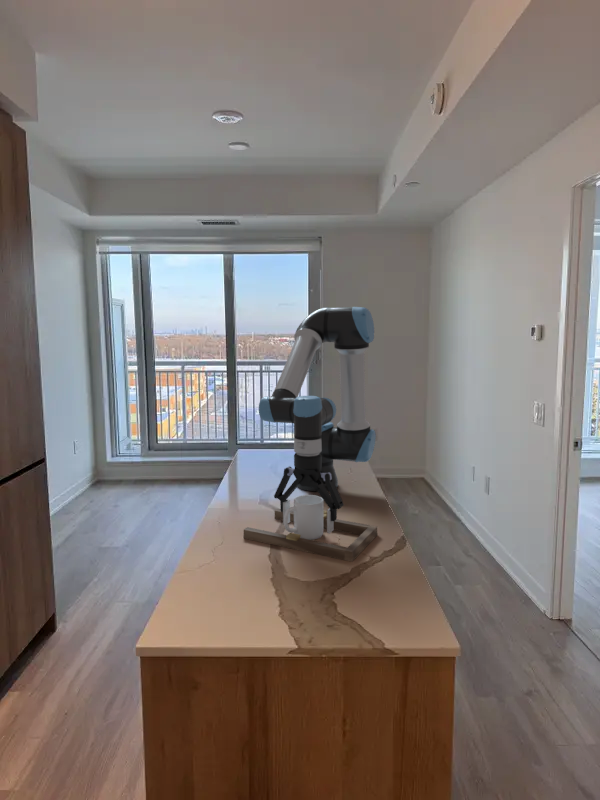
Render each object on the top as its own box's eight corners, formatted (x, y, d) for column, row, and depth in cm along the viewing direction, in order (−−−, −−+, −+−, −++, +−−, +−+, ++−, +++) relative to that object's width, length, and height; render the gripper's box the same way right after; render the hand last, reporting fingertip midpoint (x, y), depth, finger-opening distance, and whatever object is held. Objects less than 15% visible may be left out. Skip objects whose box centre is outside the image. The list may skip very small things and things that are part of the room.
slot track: (282, 513, 164) (282, 503, 163) (380, 531, 149) (381, 519, 149) (243, 538, 144) (243, 527, 144) (351, 561, 129) (351, 549, 129)
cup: (329, 536, 145) (329, 501, 144) (291, 545, 139) (291, 508, 138) (313, 526, 153) (313, 493, 151) (277, 535, 146) (276, 500, 145)
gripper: (261, 451, 145) (262, 524, 148) (344, 461, 134) (344, 540, 137) (275, 445, 152) (275, 515, 155) (355, 454, 140) (354, 530, 143)
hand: (308, 527), depth 146 cm, fingers open, 13 cm apart
